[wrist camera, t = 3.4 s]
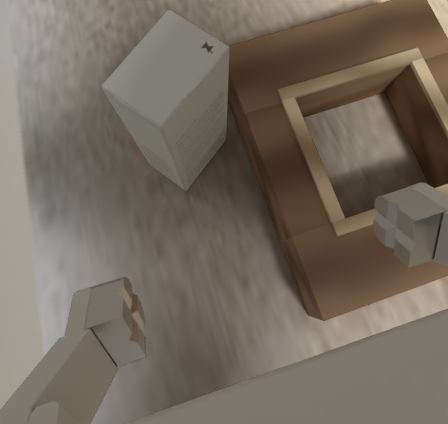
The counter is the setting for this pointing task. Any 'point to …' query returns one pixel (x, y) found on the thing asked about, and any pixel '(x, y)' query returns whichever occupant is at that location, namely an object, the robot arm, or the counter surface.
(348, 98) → the walnut socket board
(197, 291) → the counter surface
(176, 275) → the counter surface
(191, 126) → the skincare box
